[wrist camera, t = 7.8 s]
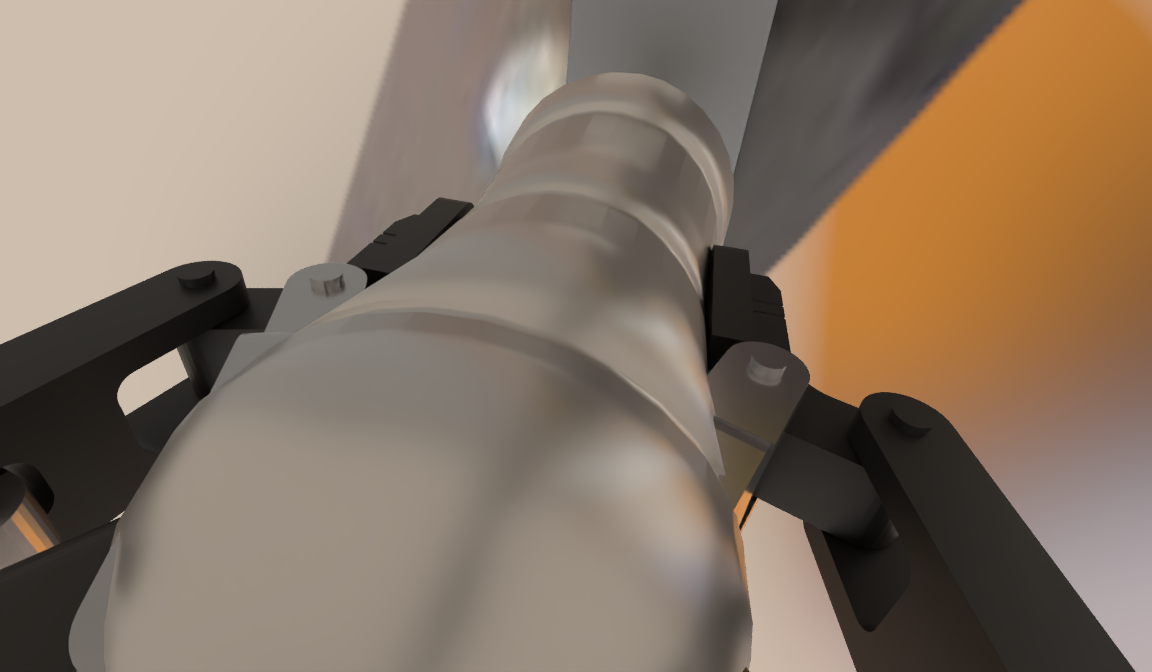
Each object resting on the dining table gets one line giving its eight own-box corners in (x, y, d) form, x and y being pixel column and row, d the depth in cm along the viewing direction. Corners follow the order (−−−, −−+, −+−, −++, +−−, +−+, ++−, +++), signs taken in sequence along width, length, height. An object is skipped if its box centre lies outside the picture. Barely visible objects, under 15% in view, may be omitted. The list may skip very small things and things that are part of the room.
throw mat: (582, -111, 24) (579, -111, 24) (799, -89, 23) (800, -90, 23) (562, 158, 31) (560, 161, 30) (729, 185, 30) (730, 188, 29)
